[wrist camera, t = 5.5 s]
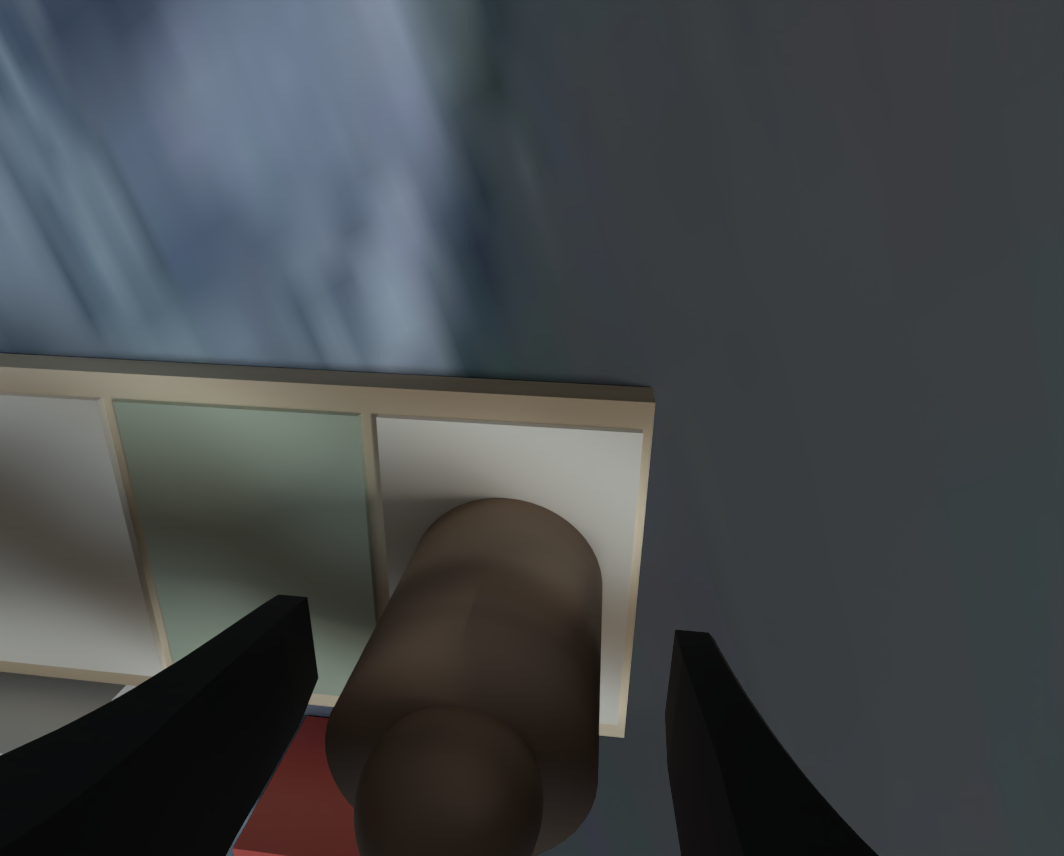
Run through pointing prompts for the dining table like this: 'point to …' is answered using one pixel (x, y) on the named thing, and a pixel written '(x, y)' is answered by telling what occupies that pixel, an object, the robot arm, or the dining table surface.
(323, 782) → the red die
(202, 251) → the dining table surface
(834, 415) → the dining table surface
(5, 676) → the dome housing
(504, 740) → the pawn
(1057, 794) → the dining table surface
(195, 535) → the track board
